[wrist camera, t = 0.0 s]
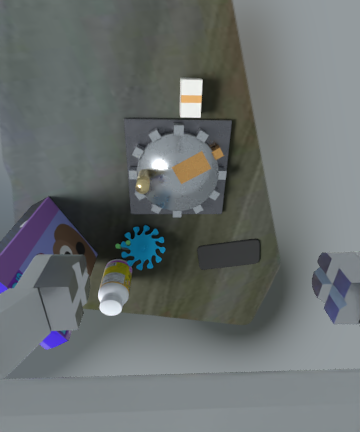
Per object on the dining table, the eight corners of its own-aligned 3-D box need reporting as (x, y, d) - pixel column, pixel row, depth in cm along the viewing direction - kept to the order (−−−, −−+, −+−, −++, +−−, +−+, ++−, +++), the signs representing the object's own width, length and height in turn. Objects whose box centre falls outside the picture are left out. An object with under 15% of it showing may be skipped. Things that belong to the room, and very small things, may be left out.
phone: (197, 246, 68) (259, 239, 68) (196, 244, 69) (258, 237, 69) (199, 270, 72) (259, 263, 72) (199, 268, 73) (258, 261, 72)
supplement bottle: (128, 281, 73) (121, 322, 62) (102, 274, 72) (91, 315, 61) (136, 261, 70) (130, 300, 59) (109, 254, 69) (98, 293, 58)
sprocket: (126, 122, 52) (120, 133, 45) (229, 123, 53) (238, 134, 46) (132, 212, 62) (128, 233, 55) (219, 212, 63) (226, 232, 56)
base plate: (124, 118, 53) (123, 119, 52) (230, 119, 54) (231, 120, 53) (131, 211, 63) (130, 214, 62) (221, 211, 64) (221, 213, 63)
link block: (180, 77, 50) (181, 79, 47) (200, 77, 51) (202, 79, 47) (179, 113, 53) (180, 117, 50) (198, 113, 54) (200, 117, 50)
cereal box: (97, 253, 69) (68, 341, 48) (81, 261, 69) (45, 350, 49) (49, 196, 61) (-13, 271, 40) (31, 205, 61) (-38, 284, 41)
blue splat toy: (168, 227, 64) (161, 272, 61) (169, 233, 70) (162, 274, 67) (119, 220, 64) (110, 265, 61) (124, 227, 70) (116, 267, 67)
